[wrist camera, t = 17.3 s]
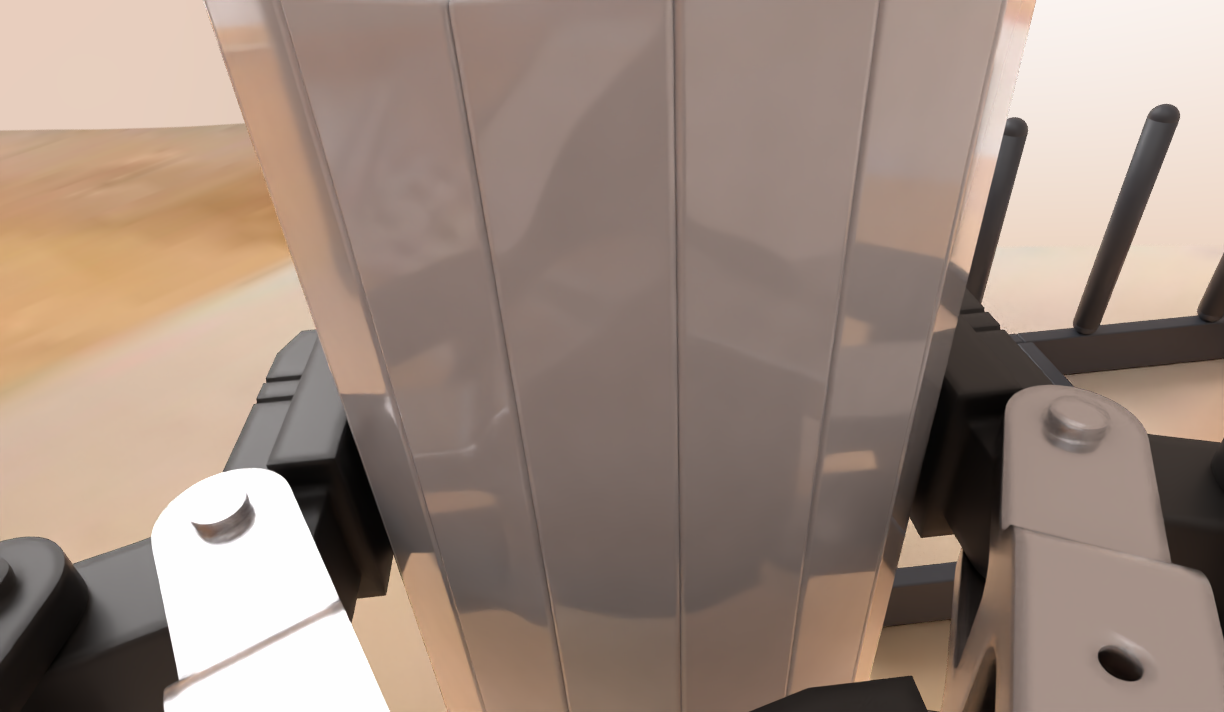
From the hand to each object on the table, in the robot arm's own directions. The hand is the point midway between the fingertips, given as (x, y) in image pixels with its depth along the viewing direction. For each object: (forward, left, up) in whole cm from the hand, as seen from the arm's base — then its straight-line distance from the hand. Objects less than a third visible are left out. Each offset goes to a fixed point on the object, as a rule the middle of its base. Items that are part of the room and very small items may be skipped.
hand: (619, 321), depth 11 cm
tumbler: (0, -2, -7) cm, 8 cm away
